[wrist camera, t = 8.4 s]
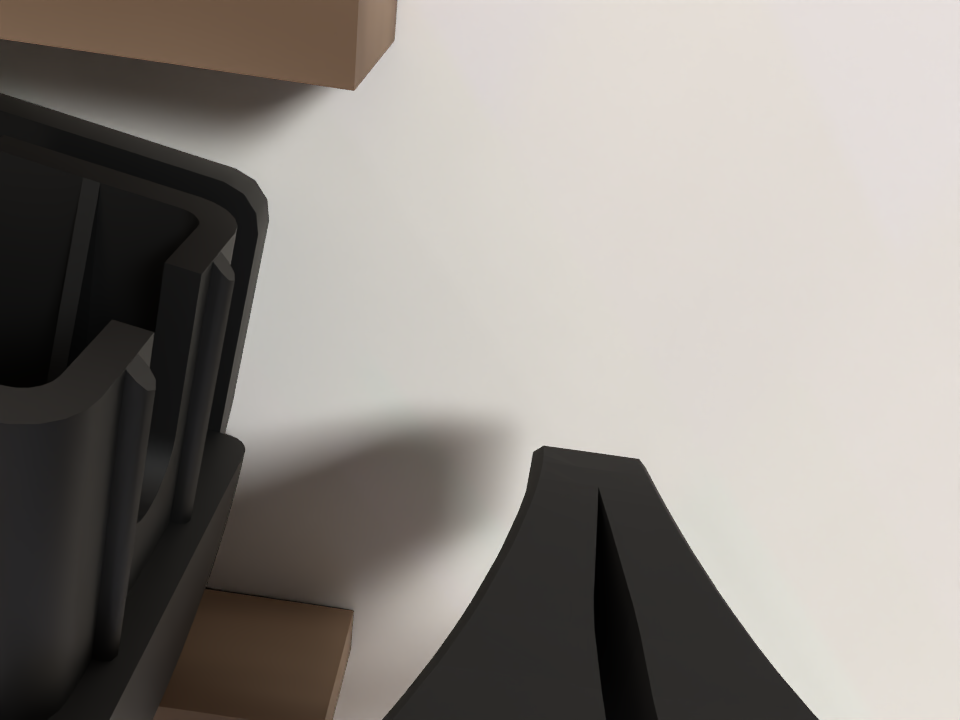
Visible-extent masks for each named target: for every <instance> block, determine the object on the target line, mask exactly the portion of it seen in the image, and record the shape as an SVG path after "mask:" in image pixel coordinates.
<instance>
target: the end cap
mask: <svg viewBox="0 0 960 720" xmlns="http://www.w3.org/2000/svg"><path fill="white" fill-rule="evenodd" d="M268 223H269V215H268V202H267V198H266V197H265V195H264V194H263V192H262V191H261V189H260V187H259V186H258V184H257V183H256V181H255V180H253V179H252V178H250V177H248V176H247V175H245V174H244V173H242V172H240V171H239V170H237V169H235V168H232V167H229V166H226V165H222V164H219V163H216V162H213V161H210V160H207V159H204V158H201V157H198V156H194V155H191V154H188V153H185V152H182V151H179V150H176V149H173V148H169V147H166V146H163V145H160V144H157V143H154V142H151V141H148V140H145V139H141V138H138V137H135V136H132V135H129V134H126V133H123V132H120V131H116V130H113V129H110V128H107V127H104V126H101V125H98V124H95V123H92V122H88V121H85V120H82V119H79V118H76V117H73V116H70V115H67V114H63V113H60V112H57V111H54V110H51V109H48V108H45V107H42V106H39V105H35V104H32V103H29V102H26V101H23V100H20V99H17V98H14V97H10V96H7V95H4V94H1V93H0V720H153V718H154V716H155V713H156V711H157V709H158V707H159V704H160V702H161V700H162V697H163V695H164V693H165V691H166V688H167V686H168V684H169V681H170V679H171V676H172V674H173V671H174V669H175V667H176V664H177V662H178V659H179V657H180V654H181V652H182V649H183V647H184V644H185V641H186V639H187V636H188V634H189V631H190V628H191V626H192V623H193V621H194V618H195V615H196V612H197V610H198V607H199V604H200V601H201V598H202V596H203V593H204V590H205V587H206V584H207V582H208V579H209V576H210V573H211V569H212V566H213V563H214V560H215V557H216V554H217V551H218V548H219V545H220V542H221V539H222V535H223V532H224V529H225V525H226V522H227V519H228V515H229V512H230V508H231V505H232V501H233V497H234V494H235V490H236V486H237V483H238V478H239V474H240V470H241V466H242V462H243V457H244V453H245V447H244V445H243V443H242V442H241V441H240V440H238V439H237V438H235V437H233V436H230V435H227V434H225V431H226V427H227V423H228V419H229V415H230V411H231V407H232V403H233V398H234V393H235V388H236V383H237V378H238V373H239V368H240V363H241V358H242V353H243V348H244V343H245V338H246V333H247V328H248V323H249V318H250V313H251V308H252V303H253V298H254V293H255V288H256V283H257V278H258V273H259V268H260V263H261V258H262V253H263V248H264V243H265V238H266V233H267V228H268Z"/></svg>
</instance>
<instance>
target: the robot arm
mask: <svg viewBox="0 0 960 720" xmlns="http://www.w3.org/2000/svg"><path fill="white" fill-rule="evenodd" d="M382 720H819V719H818V718H817V717H816V716H815V715H814V714H813V713H812V712H811V710H810V709H809V708H808V707H807V706H806V705H805V703H804V702H803V701H802V700H801V699H800V698H799V696H798V695H797V694H796V693H795V692H794V691H793V689H792V688H791V687H790V686H789V685H788V684H787V682H786V681H785V680H784V679H783V678H782V677H781V675H780V674H779V673H778V672H777V670H776V669H775V668H774V667H773V665H772V664H771V663H770V662H769V660H768V659H767V658H766V656H765V655H764V654H763V653H762V651H761V650H760V649H759V647H758V646H757V645H756V643H755V642H754V641H753V639H752V638H751V637H750V635H749V634H748V633H747V631H746V630H745V628H744V627H743V626H742V624H741V623H740V622H739V620H738V619H737V617H736V616H735V615H734V613H733V612H732V610H731V609H730V608H729V606H728V605H727V603H726V602H725V600H724V599H723V597H722V596H721V594H720V593H719V591H718V590H717V589H716V587H715V585H714V584H713V582H712V581H711V579H710V578H709V576H708V575H707V573H706V571H705V570H704V568H703V567H702V565H701V564H700V562H699V561H698V559H697V557H696V556H695V554H694V553H693V551H692V550H691V548H690V546H689V545H688V543H687V541H686V540H685V538H684V536H683V535H682V533H681V531H680V529H679V528H678V526H677V524H676V523H675V521H674V519H673V517H672V516H671V514H670V512H669V510H668V509H667V507H666V505H665V503H664V501H663V500H662V498H661V496H660V494H659V492H658V490H657V489H656V487H655V485H654V483H653V481H652V479H651V477H650V475H649V474H648V472H647V470H646V468H645V466H644V465H643V464H642V462H641V461H640V460H639V459H635V458H628V457H621V456H614V455H607V454H599V453H592V452H585V451H578V450H571V449H563V448H556V447H549V446H542V447H541V448H539V449H537V450H536V451H534V452H533V456H532V462H531V467H530V473H529V478H528V484H527V489H526V493H525V496H524V498H523V501H522V504H521V506H520V509H519V512H518V514H517V516H516V518H515V520H514V523H513V525H512V527H511V529H510V531H509V533H508V536H507V538H506V540H505V542H504V544H503V546H502V548H501V550H500V552H499V554H498V556H497V558H496V560H495V561H494V563H493V565H492V567H491V568H490V570H489V572H488V574H487V575H486V577H485V579H484V581H483V582H482V584H481V586H480V588H479V589H478V591H477V593H476V594H475V596H474V598H473V599H472V601H471V603H470V604H469V606H468V607H467V609H466V610H465V612H464V614H463V615H462V617H461V618H460V620H459V621H458V623H457V624H456V626H455V627H454V629H453V630H452V631H451V633H450V634H449V636H448V637H447V639H446V640H445V641H444V643H443V644H442V646H441V647H440V648H439V650H438V651H437V653H436V654H435V655H434V657H433V658H432V659H431V661H430V662H429V663H428V664H427V666H426V667H425V668H424V669H423V671H422V672H421V673H420V674H419V676H418V677H417V678H416V680H415V681H414V682H413V683H412V685H411V686H410V687H409V688H408V690H407V691H406V692H405V694H404V695H403V696H402V697H401V698H400V700H399V701H398V702H397V703H396V704H395V705H394V707H393V708H392V709H391V710H390V711H389V713H388V714H387V715H386V716H385V717H384V718H383V719H382Z"/></svg>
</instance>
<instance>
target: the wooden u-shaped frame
mask: <svg viewBox="0 0 960 720" xmlns="http://www.w3.org/2000/svg"><path fill="white" fill-rule="evenodd" d="M396 11H397V0H0V39H5V40H12V41H19V42H25V43H32V44H39V45H46V46H53V47H60V48H66V49H73V50H80V51H87V52H94V53H101V54H107V55H114V56H121V57H128V58H135V59H141V60H148V61H155V62H162V63H169V64H176V65H182V66H189V67H196V68H203V69H210V70H217V71H223V72H230V73H237V74H244V75H251V76H258V77H264V78H271V79H278V80H285V81H292V82H299V83H305V84H312V85H319V86H326V87H333V88H340V89H346V90H353V91H354V90H355V89H356V88H357V87H358V85H359V84H360V83H361V82H362V80H363V79H364V78H365V77H366V75H367V74H368V73H369V72H370V70H371V69H372V68H373V67H374V65H375V64H376V63H377V62H378V60H379V59H380V58H381V57H382V55H383V54H384V53H385V52H386V50H387V49H388V48H389V47H390V45H391V44H392V43H393V42H394V39H395V25H396ZM353 612H354V611H352V610H345V609H338V608H331V607H325V606H318V605H311V604H304V603H297V602H291V601H284V600H277V599H270V598H263V597H257V596H250V595H243V594H236V593H230V592H223V591H216V590H209V589H205V590H204V593H203V596H202V598H201V601H200V604H199V607H198V610H197V612H196V615H195V618H194V621H193V623H192V626H191V628H190V631H189V634H188V636H187V639H186V641H185V644H184V647H183V649H182V652H181V654H180V657H179V659H178V662H177V664H176V667H175V669H174V671H173V674H172V676H171V679H170V681H169V684H168V686H167V688H166V691H165V693H164V695H163V697H162V700H161V702H160V704H159V707H158V709H157V711H156V713H155V716H154V718H153V720H333V717H334V713H335V709H336V705H337V701H338V697H339V693H340V689H341V685H342V681H343V677H344V673H345V670H346V666H347V662H348V658H349V654H350V650H351V640H352V626H353Z"/></svg>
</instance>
